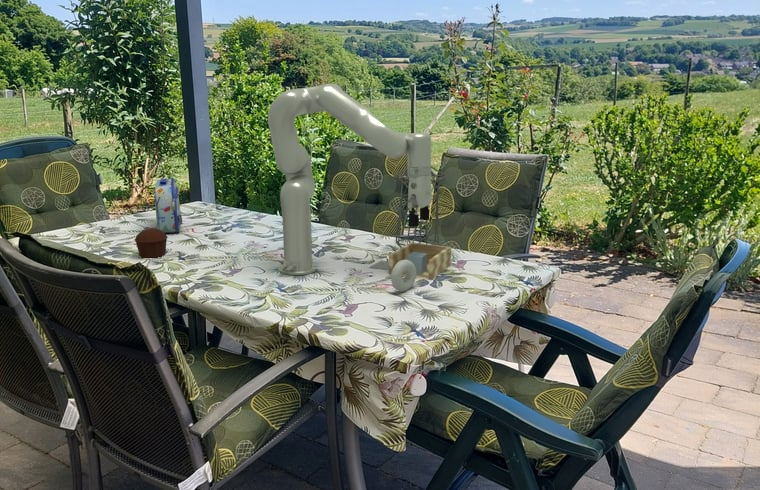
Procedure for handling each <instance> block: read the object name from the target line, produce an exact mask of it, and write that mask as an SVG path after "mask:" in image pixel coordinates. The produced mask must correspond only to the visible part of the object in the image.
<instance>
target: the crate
mask: <svg viewBox="0 0 760 490" xmlns="http://www.w3.org/2000/svg"><path fill="white" fill-rule="evenodd" d="M413 252H418V253H426V254H427V271H426V272H424V273H423V274H422V275H420V274H416V279H423V280H428V281H432V280H434V279H435V278H436V277H438V276H439V275H440V274H441V273H443V272H444V271H445V270H447V268H449V267H450V266H451V265H452V264H451V263H452V260H451V259H452V246H445V245H439V244H437V245H431V244H430V243H429V244H428V243H427V244H426V243H419V242H414V243H413V241H410V243H409V242H408V243H407V244H406V245H405V246H404V245H402V248H400V247H399V249H397V250H395V251H393V252H392V253H390V254H389V255H388V262H389V270H388V274H389V275H391V273H392V270H393V268H394V266H395V265H396V264H397V263H398V262H399V261H401V260H408V255H409V254H411V253H413ZM405 275H406V272H405V271H404V272H403V274H402V277H405Z"/></svg>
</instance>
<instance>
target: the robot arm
mask: <svg viewBox="0 0 760 490" xmlns="http://www.w3.org/2000/svg"><path fill="white" fill-rule="evenodd" d="M320 112H325V113H326V114H328V115H329V116H331V117H333V118H334V119H335V120H337V121H338V122H340V123H341V124H342V125H343V126H345V127H346V128H348V129H350V130H351V131H352V132H353V133H355V134H356V135H357V136H358V137H360V138H361V139H362V140H364V141H365V142H366V143H368V144H369V145H370V146H371V147H373V148H374V149H375V150H377V151H379V152H380V153H381V154H383V155H385V156H386V157H388V158H391V159H399V158H401V157H402V156H403V155H405V154H407V168H408V170H407V171H408V177H409V181H408V183H409V185H408V186H409V188H407V189H408V191H407V192H408V193H407V194H408V195H407V198H408V199H407V200H408V201H407V209H408V210H407V211H408V227H409V226H410V227H414V228H415V227H416V228H417V227H420V220H422V221H426V220H427V221H429V220H430V208H431V205H430V204H432V201H433V200H432V199H433V196H432V195H433V194H432V193H433V190H432V184H431V179H432V177H431V175H432V174H431V170H432V168H431V166H432V137H431V134H430V133H428V132H412V133H410V132H409V133H408V132H401V131H393V130H392V129H391V128H389V127H387V126H386V125H385V124H384V123H382V122H381V121H380V120H378V119H377V117H375V116H374V114H373V113H372V112H371V111H370V109H369V108H367V107H366V106H365V105H363V104H362V103H361V102H359V101H357V100H356V99H354V98H353V97H352V96H350V95H349V94H348V93H346V92H345V91H344V89H343V88H342V87H341V86H340V85H338V84H336V83H325V84H321V85H317V86H316V85H315V86H308V87H302V88H293V89H288V90H286V91H283V92H281V93H280V94H279V95H278V96H277V97H276V98H274V100H273V101H272V102H271V104H270V107H269V108H268V113H267V121H268V127H269V132H270V139H271V143H272V144H271V145H272V149H273V154H274V158H275V159H274V160H275V164H276V167H277V169H278V170H279V172H280V173H282V174H284V175H285V176H284V177H285V180H286V181H285V182H284V184H283V185H282V186H281V188H280V189H281V190H280V193H279V197H280V199H279V200H280V206H281V208H280V209H281V215H282V216H281V217H282V220H281V221H282V239H283V240H282V242H283V261H282V262H283V263H282V264H281V265H278V267H277V271H279V272H280V273H282V274H285V275H289V276H302V275H303V276H305V275H309V274H312V273H313V274H314V273H315V272H316V271H317V270H318V265H317V264H316V263H313V241H312V240H313V239H312V238H313V237H312V212H311V198H312V197H313V196H314V194H315V192H316V191H315V190H316V184H315V179H314V173H313V169H312V165H311V160H310V159H311V158H310V156H309V153H308V151H307V149H306V148H305V147H304V146H303V144H300V142H299V136H298V130H297V128H296V124H295V119H296V117H299V116H302V115H307V114H314V113H320ZM430 177H431V178H430ZM431 190H432V191H431ZM418 213H419V214H418Z"/></svg>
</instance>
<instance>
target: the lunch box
mask: <svg viewBox="0 0 760 490" xmlns="http://www.w3.org/2000/svg"><path fill="white" fill-rule="evenodd" d="M154 208H155V219H156V228H157V229H160V230H161V231H163V232H164V233H165V234H174V233H175V232H176V233H179V232H180V229H181V226H182V225H183V217H182V214H181V213H182V212H181V205H180V198H179V188H178V186H177V183H176V179H175V178H160V179H157V181H156V183H155V187H154Z"/></svg>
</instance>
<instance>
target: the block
mask: <svg viewBox="0 0 760 490" xmlns="http://www.w3.org/2000/svg"><path fill="white" fill-rule="evenodd" d="M408 260H409V261H411V262H412V263H413V264H414V265H415V268H416V274H420V275H422V274H423V273H424V272H426V271H427V254H426V253H418V252H413V253H411V254H409V255H408Z"/></svg>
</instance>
